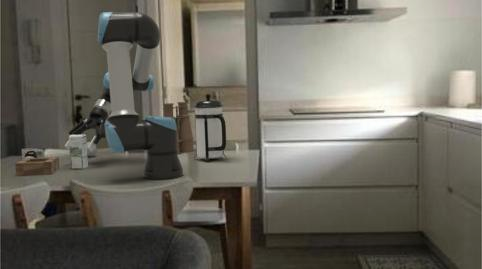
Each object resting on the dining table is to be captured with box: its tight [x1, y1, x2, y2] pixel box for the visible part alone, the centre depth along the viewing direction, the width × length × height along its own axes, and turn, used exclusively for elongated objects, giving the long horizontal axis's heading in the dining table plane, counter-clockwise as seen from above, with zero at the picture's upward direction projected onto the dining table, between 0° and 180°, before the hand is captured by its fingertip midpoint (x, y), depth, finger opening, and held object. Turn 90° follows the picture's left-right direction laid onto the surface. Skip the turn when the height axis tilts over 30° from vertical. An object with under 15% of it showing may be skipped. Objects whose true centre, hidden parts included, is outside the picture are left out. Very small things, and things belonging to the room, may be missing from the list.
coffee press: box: [193, 93, 227, 163], centre depth 243 cm, size 17×16×30 cm
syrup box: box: [68, 133, 89, 170], centre depth 233 cm, size 6×6×14 cm
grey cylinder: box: [86, 141, 98, 158], centre depth 266 cm, size 11×8×8 cm
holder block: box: [14, 156, 60, 177], centre depth 227 cm, size 14×14×5 cm
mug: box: [21, 147, 45, 160], centre depth 253 cm, size 10×7×7 cm, turn 129°
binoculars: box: [162, 101, 195, 155], centre depth 270 cm, size 21×10×25 cm, turn 145°
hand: (78, 148), depth 234 cm, fingers open, 13 cm apart
